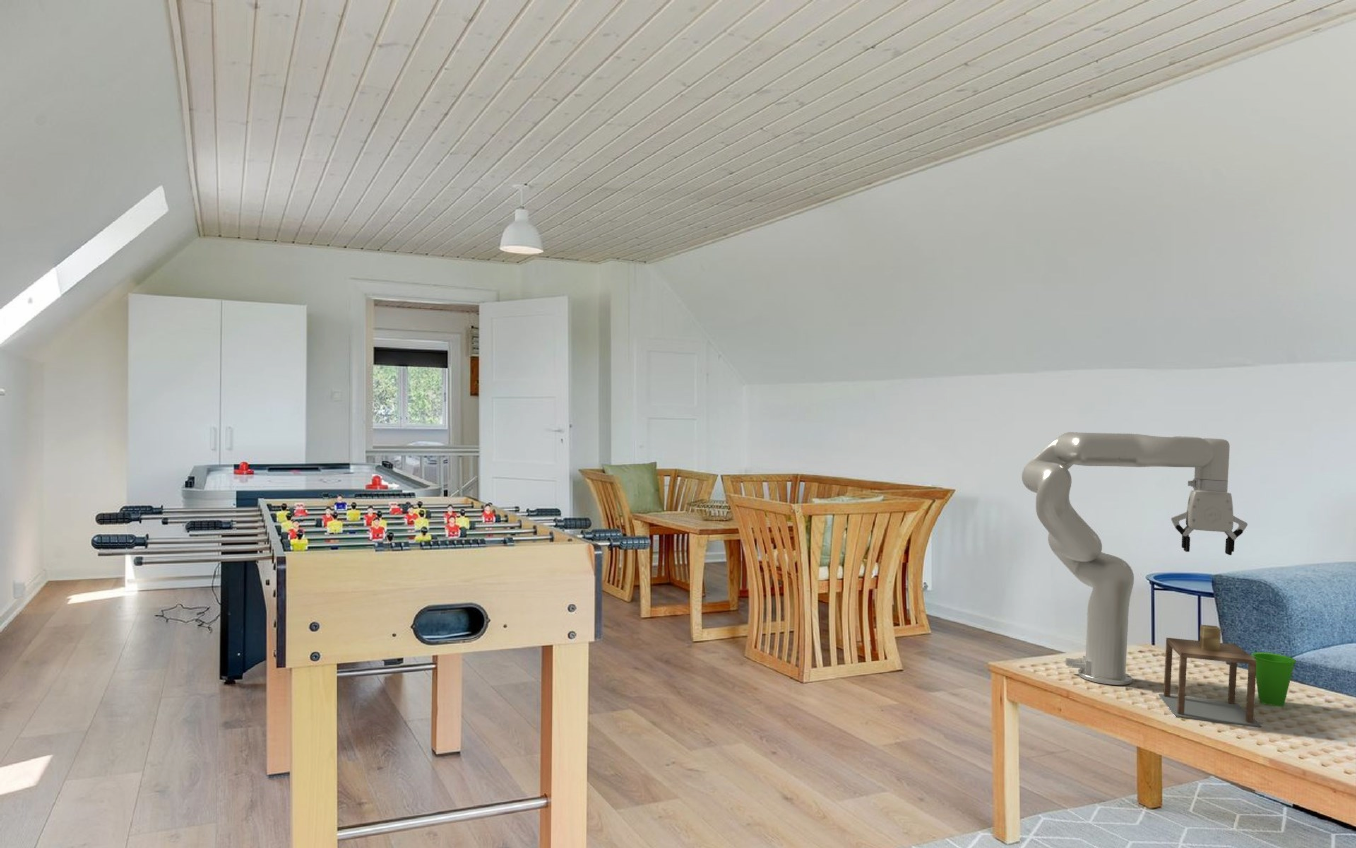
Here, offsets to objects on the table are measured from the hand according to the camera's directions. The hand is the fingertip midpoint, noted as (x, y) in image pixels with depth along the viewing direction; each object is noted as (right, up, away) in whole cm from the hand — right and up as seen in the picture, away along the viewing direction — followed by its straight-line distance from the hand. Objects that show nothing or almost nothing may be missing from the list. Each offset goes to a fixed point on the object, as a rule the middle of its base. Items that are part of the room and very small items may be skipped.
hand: (1207, 552), depth 238 cm
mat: (-14, -33, -24) cm, 43 cm away
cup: (+6, -34, -16) cm, 38 cm away
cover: (-14, -33, -24) cm, 43 cm away
